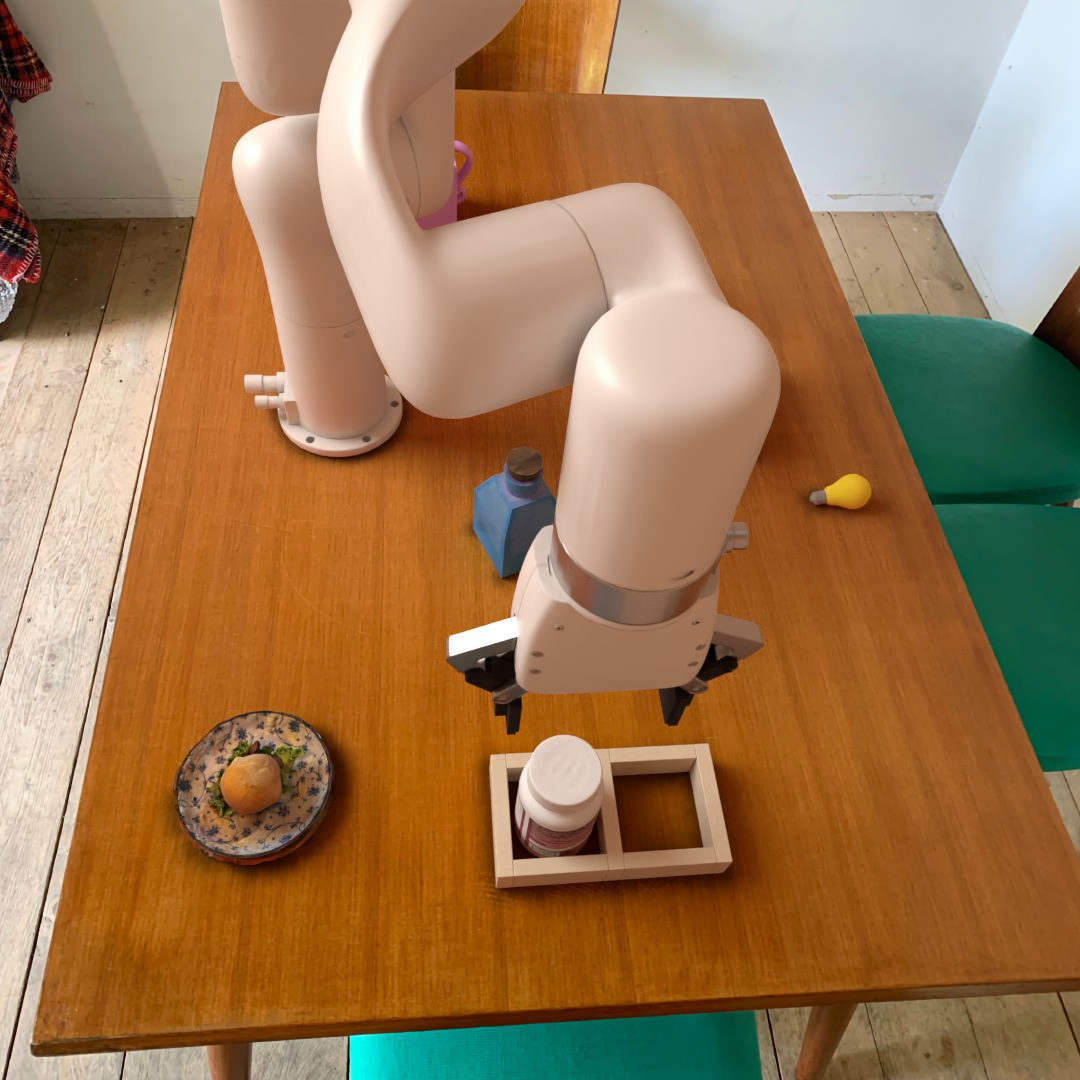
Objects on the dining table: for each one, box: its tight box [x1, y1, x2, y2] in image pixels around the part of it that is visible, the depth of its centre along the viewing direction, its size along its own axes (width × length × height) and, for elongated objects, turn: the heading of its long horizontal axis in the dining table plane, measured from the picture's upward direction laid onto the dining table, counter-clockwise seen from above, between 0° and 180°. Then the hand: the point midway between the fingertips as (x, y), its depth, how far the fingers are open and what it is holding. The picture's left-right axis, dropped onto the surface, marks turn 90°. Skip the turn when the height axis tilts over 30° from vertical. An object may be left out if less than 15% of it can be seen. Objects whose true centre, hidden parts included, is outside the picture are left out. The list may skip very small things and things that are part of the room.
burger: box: [172, 709, 336, 866], centre depth 69 cm, size 12×12×8 cm
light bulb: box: [809, 473, 872, 510], centre depth 92 cm, size 3×6×4 cm, turn 94°
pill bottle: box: [513, 734, 604, 858], centre depth 68 cm, size 6×6×11 cm
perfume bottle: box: [472, 446, 557, 579], centre depth 83 cm, size 6×6×12 cm
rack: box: [488, 742, 733, 889], centre depth 71 cm, size 18×9×3 cm, turn 95°
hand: (589, 707), depth 56 cm, fingers open, 9 cm apart
